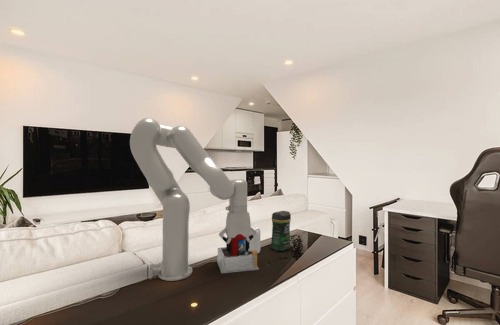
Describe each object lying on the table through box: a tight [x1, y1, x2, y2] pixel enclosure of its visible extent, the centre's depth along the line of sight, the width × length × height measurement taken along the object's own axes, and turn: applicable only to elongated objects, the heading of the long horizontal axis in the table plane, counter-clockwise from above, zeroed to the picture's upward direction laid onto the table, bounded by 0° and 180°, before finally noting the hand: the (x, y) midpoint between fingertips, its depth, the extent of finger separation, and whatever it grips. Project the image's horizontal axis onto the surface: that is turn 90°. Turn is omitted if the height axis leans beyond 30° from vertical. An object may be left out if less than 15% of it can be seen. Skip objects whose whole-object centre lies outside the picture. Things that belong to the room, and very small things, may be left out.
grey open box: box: [216, 246, 260, 274], centre depth 107 cm, size 15×14×7 cm
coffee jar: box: [270, 210, 292, 252], centre depth 127 cm, size 10×8×19 cm
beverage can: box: [230, 234, 246, 256], centre depth 107 cm, size 7×7×12 cm
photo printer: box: [248, 224, 261, 254], centre depth 125 cm, size 10×4×12 cm, turn 39°
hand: (237, 251), depth 107 cm, fingers closed on beverage can, 6 cm apart
